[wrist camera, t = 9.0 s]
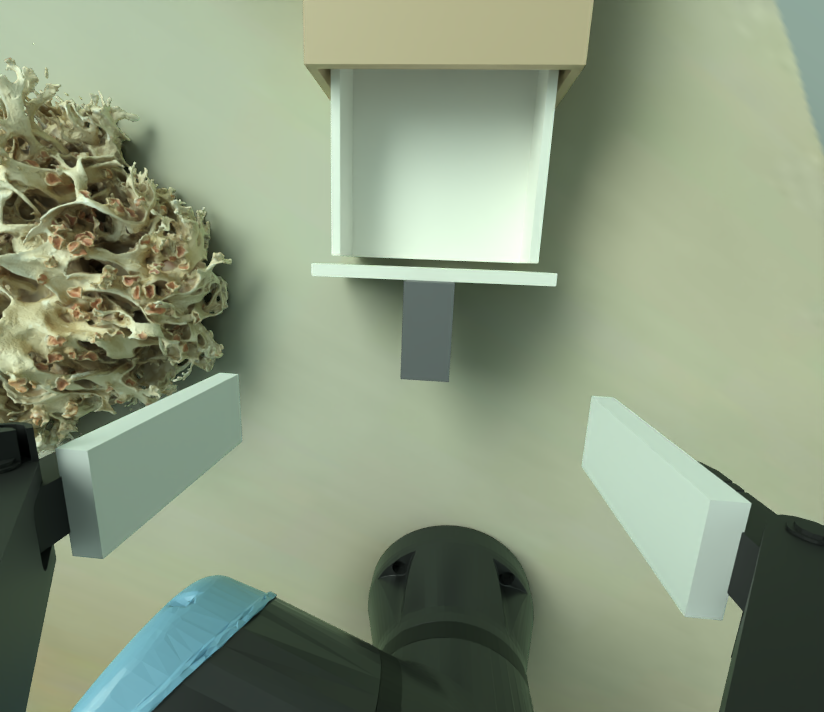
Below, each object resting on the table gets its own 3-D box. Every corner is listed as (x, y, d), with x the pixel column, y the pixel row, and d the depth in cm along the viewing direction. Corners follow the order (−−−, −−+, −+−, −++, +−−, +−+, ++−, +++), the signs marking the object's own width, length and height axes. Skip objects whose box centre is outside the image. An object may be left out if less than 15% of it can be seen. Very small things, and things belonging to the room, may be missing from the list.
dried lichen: (300, 319, 34) (231, 345, 23) (74, 488, 40) (-65, 572, 29) (87, 35, 31) (-111, -90, 20) (-125, 266, 37) (-369, 267, 26)
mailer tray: (528, 358, 32) (554, 388, 24) (335, 347, 33) (300, 372, 26) (569, -29, 26) (622, -156, 18) (334, -26, 28) (288, -143, 20)
